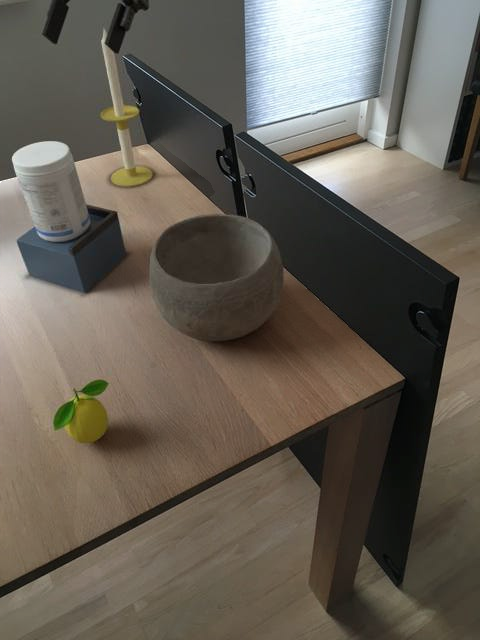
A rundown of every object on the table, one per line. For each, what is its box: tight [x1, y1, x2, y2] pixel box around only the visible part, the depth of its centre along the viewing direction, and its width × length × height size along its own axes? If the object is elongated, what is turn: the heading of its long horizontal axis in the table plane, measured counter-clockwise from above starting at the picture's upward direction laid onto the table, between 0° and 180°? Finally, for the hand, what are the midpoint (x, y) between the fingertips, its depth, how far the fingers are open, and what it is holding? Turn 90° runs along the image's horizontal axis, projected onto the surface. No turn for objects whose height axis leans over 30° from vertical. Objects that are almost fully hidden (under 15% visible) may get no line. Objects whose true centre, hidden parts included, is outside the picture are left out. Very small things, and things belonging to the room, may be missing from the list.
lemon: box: [52, 379, 110, 444], centre depth 70 cm, size 7×6×10 cm
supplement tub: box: [11, 140, 90, 242], centre depth 92 cm, size 10×10×15 cm
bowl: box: [148, 213, 285, 342], centre depth 85 cm, size 21×21×15 cm
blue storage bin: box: [15, 203, 127, 293], centre depth 100 cm, size 13×13×10 cm
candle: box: [100, 28, 154, 188], centre depth 118 cm, size 10×10×32 cm
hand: (79, 44), depth 87 cm, fingers open, 13 cm apart
